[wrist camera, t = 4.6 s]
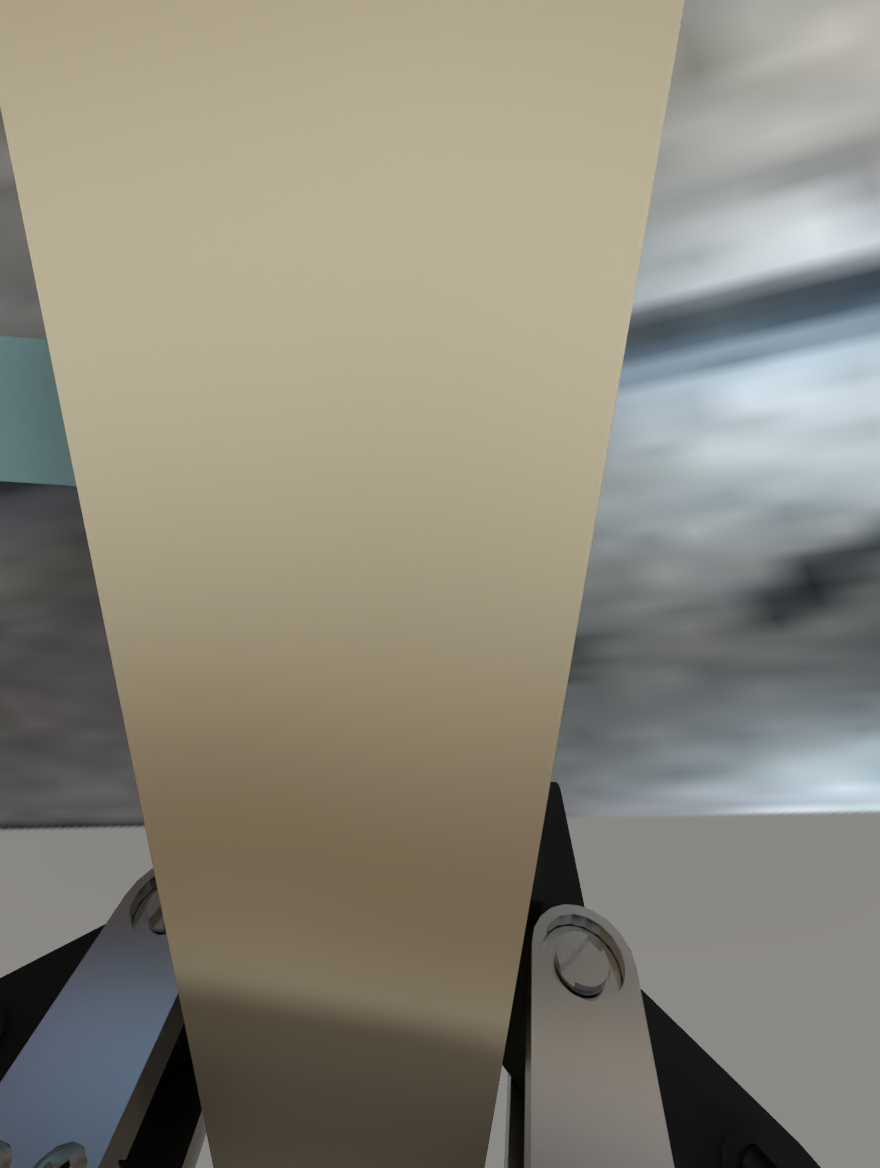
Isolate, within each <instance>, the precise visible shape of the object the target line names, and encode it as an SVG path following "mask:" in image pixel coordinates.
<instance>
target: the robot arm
mask: <svg viewBox="0 0 880 1168" xmlns="http://www.w3.org/2000/svg"><path fill="white" fill-rule="evenodd" d="M502 1065H503V1066H504V1068H505V1069H506V1070H507V1072H508V1086H507V1110H506V1111H507V1112H506V1134H505V1159H504V1168H820V1166H819V1165H818V1164H817V1163H816V1162H815V1161H814V1160H813V1158H812V1157H811V1156H810V1155H809V1154H808V1153H807V1152H806V1150H805V1149H804V1148H803V1147H802V1146H801V1145H800V1144H799V1142H798V1141H796V1140H795V1139H794V1138H793V1137H792V1136H791V1135H790V1134H789V1133H788V1132H787V1131H786V1130H785V1129H784V1128H783V1127H782V1126H781V1125H780V1124H779V1123H778V1122H777V1121H776V1120H775V1119H774V1118H773V1117H772V1116H771V1115H770V1114H769V1113H768V1112H767V1111H766V1110H765V1109H764V1108H762V1106H761V1105H759V1104H758V1103H757V1102H756V1101H755V1100H754V1099H753V1098H752V1097H751V1096H750V1095H749V1094H748V1093H747V1092H746V1091H745V1090H744V1089H743V1088H742V1087H741V1086H740V1085H739V1084H738V1083H737V1082H736V1081H735V1080H734V1079H733V1078H732V1077H731V1076H730V1075H729V1074H728V1073H727V1072H726V1071H725V1070H724V1069H723V1068H721V1066H720V1065H718V1064H717V1063H716V1062H715V1061H714V1060H713V1059H712V1058H711V1057H710V1056H709V1055H708V1054H707V1053H706V1052H705V1051H704V1050H703V1049H702V1048H701V1047H700V1046H699V1045H698V1044H697V1043H696V1042H695V1041H694V1040H693V1039H692V1038H691V1037H690V1036H689V1035H688V1034H687V1033H686V1032H685V1031H684V1030H683V1029H682V1028H681V1027H679V1026H678V1025H677V1024H676V1023H675V1022H674V1021H673V1020H672V1019H671V1018H670V1017H669V1016H668V1015H667V1014H666V1013H665V1012H664V1011H663V1010H662V1009H661V1008H660V1007H659V1006H658V1005H657V1004H656V1003H655V1002H654V1001H653V1000H652V999H651V998H650V997H649V996H648V995H646V993H644V991H643V990H641V989H640V984H639V979H638V973H637V968H636V965H635V962H634V959H633V956H632V953H631V950H630V948H629V947H628V945H627V943H626V942H625V940H624V938H623V937H622V935H621V934H620V933H619V932H618V931H617V930H616V928H615V927H614V926H613V925H612V924H611V923H610V922H609V921H608V920H606V919H605V918H603V917H602V916H600V915H599V914H597V913H596V912H594V911H592V910H590V909H587V908H585V907H584V903H583V897H582V892H581V888H580V883H579V878H578V873H577V868H576V863H575V858H574V854H573V849H572V844H571V839H570V834H569V830H568V824H567V820H566V815H565V810H564V805H563V800H562V795H561V791H560V787H559V785H558V783H557V782H551V783H550V788H549V794H548V800H547V806H546V812H545V818H544V823H543V829H542V835H541V841H540V847H539V853H538V858H537V864H536V870H535V876H534V882H533V887H532V893H531V899H530V905H529V911H528V917H527V922H526V928H525V934H524V940H523V946H522V952H521V957H520V963H519V969H518V975H517V981H516V986H515V992H514V998H513V1004H512V1010H511V1016H510V1021H509V1027H508V1033H507V1039H506V1045H505V1051H504V1056H503V1062H502ZM206 1133H207V1132H206V1127H205V1122H204V1117H203V1112H202V1107H201V1102H200V1098H199V1093H198V1088H197V1083H196V1078H195V1073H194V1068H193V1063H192V1058H191V1053H190V1048H189V1043H188V1038H187V1033H186V1028H185V1023H184V1018H183V1013H182V1008H181V1003H180V998H179V993H178V988H177V983H176V978H175V973H174V968H173V963H172V958H171V953H170V948H169V943H168V938H167V933H166V928H165V923H164V918H163V913H162V908H161V903H160V898H159V893H158V889H157V884H156V879H155V874H154V869H151V870H150V871H149V872H148V873H146V874H145V875H144V876H143V877H141V878H140V879H139V880H138V881H137V882H136V883H135V884H134V885H133V887H132V888H131V889H130V890H129V891H128V893H127V894H126V895H125V896H124V898H123V899H122V901H121V902H120V904H119V905H118V907H117V909H116V910H115V911H114V913H113V914H112V916H111V917H110V919H109V920H108V922H107V923H106V924H105V925H103V926H101V927H99V928H97V929H95V930H93V931H91V932H89V933H87V934H85V935H84V936H82V937H80V938H78V939H76V940H74V941H72V942H70V943H68V944H66V945H64V946H62V947H60V948H58V949H56V950H54V951H52V952H51V953H49V954H46V955H45V956H43V957H41V958H39V959H37V960H35V961H33V962H31V963H29V964H27V965H25V966H23V967H21V968H19V969H17V970H15V971H13V972H11V973H10V974H7V975H6V976H4V977H2V978H0V1168H195V1166H196V1163H197V1160H198V1157H199V1154H200V1151H201V1148H202V1145H203V1141H204V1139H205V1135H206Z"/></svg>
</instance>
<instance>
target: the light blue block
mask: <svg viewBox="0 0 880 1168" xmlns="http://www.w3.org/2000/svg"><path fill="white" fill-rule="evenodd" d="M0 481H8V482H22V483H37V484H52V485H67V486H77V485H76V480H75V475H74V471H73V466H72V461H71V456H70V451H69V446H68V441H67V436H66V431H65V426H64V421H63V416H62V411H61V406H60V401H59V396H58V391H57V386H56V381H55V376H54V371H53V366H52V361H51V356H50V351H49V346H48V341H47V339H43V338H25V337H8V336H0Z"/></svg>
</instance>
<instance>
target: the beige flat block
mask: <svg viewBox="0 0 880 1168" xmlns="http://www.w3.org/2000/svg"><path fill="white" fill-rule="evenodd" d="M684 2H685V0H0V107H1V112H2V117H3V122H4V127H5V132H6V137H7V142H8V147H9V152H10V157H11V162H12V167H13V172H14V177H15V182H16V187H17V192H18V197H19V202H20V207H21V212H22V217H23V222H24V227H25V232H26V237H27V242H28V247H29V252H30V257H31V262H32V266H33V271H34V276H35V281H36V286H37V291H38V296H39V301H40V306H41V311H42V316H43V321H44V326H45V331H46V336H47V341H48V346H49V351H50V356H51V361H52V366H53V371H54V376H55V381H56V386H57V391H58V396H59V401H60V406H61V411H62V416H63V421H64V426H65V431H66V436H67V441H68V446H69V451H70V456H71V461H72V466H73V471H74V475H75V480H76V485H77V490H78V495H79V500H80V505H81V510H82V515H83V520H84V525H85V530H86V535H87V540H88V545H89V550H90V555H91V560H92V565H93V570H94V575H95V580H96V585H97V590H98V595H99V600H100V605H101V610H102V615H103V620H104V625H105V630H106V635H107V640H108V645H109V650H110V655H111V660H112V665H113V670H114V675H115V680H116V684H117V689H118V694H119V699H120V704H121V709H122V714H123V719H124V724H125V729H126V734H127V739H128V744H129V749H130V754H131V759H132V764H133V769H134V774H135V779H136V784H137V789H138V794H139V799H140V804H141V809H142V814H143V819H144V824H145V829H146V833H147V839H148V843H149V849H150V854H151V859H152V864H153V869H154V874H155V879H156V884H157V889H158V893H159V898H160V903H161V908H162V913H163V918H164V923H165V928H166V933H167V938H168V943H169V948H170V953H171V958H172V963H173V968H174V973H175V978H176V983H177V988H178V993H179V998H180V1003H181V1008H182V1013H183V1018H184V1023H185V1028H186V1033H187V1038H188V1043H189V1048H190V1053H191V1058H192V1063H193V1068H194V1073H195V1078H196V1083H197V1088H198V1093H199V1098H200V1102H201V1107H202V1112H203V1117H204V1122H205V1127H206V1132H207V1137H208V1142H209V1147H210V1152H211V1157H212V1162H213V1167H214V1168H484V1167H485V1161H486V1155H487V1150H488V1144H489V1138H490V1132H491V1126H492V1120H493V1114H494V1109H495V1103H496V1097H497V1091H498V1085H499V1079H500V1074H501V1068H502V1062H503V1056H504V1051H505V1045H506V1039H507V1033H508V1027H509V1021H510V1016H511V1010H512V1004H513V998H514V992H515V986H516V981H517V975H518V969H519V963H520V957H521V952H522V946H523V940H524V934H525V928H526V922H527V917H528V911H529V905H530V899H531V893H532V887H533V882H534V876H535V870H536V864H537V858H538V853H539V847H540V841H541V835H542V829H543V823H544V818H545V812H546V806H547V800H548V794H549V788H550V783H551V777H552V771H553V765H554V759H555V753H556V748H557V742H558V736H559V730H560V724H561V719H562V713H563V707H564V701H565V695H566V689H567V684H568V678H569V672H570V666H571V660H572V654H573V649H574V643H575V637H576V631H577V625H578V620H579V614H580V608H581V602H582V596H583V590H584V585H585V579H586V573H587V567H588V561H589V555H590V550H591V544H592V538H593V532H594V526H595V520H596V515H597V509H598V503H599V497H600V491H601V486H602V480H603V474H604V468H605V462H606V456H607V451H608V445H609V439H610V433H611V427H612V421H613V416H614V410H615V404H616V398H617V392H618V387H619V381H620V375H621V369H622V363H623V357H624V352H625V346H626V340H627V334H628V328H629V322H630V317H631V311H632V305H633V299H634V293H635V288H636V282H637V276H638V270H639V264H640V258H641V253H642V247H643V241H644V235H645V229H646V223H647V218H648V212H649V206H650V200H651V194H652V188H653V183H654V177H655V171H656V165H657V159H658V154H659V148H660V142H661V136H662V130H663V124H664V119H665V113H666V107H667V101H668V95H669V89H670V84H671V78H672V72H673V66H674V60H675V55H676V49H677V43H678V37H679V31H680V25H681V20H682V14H683V8H684Z"/></svg>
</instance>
